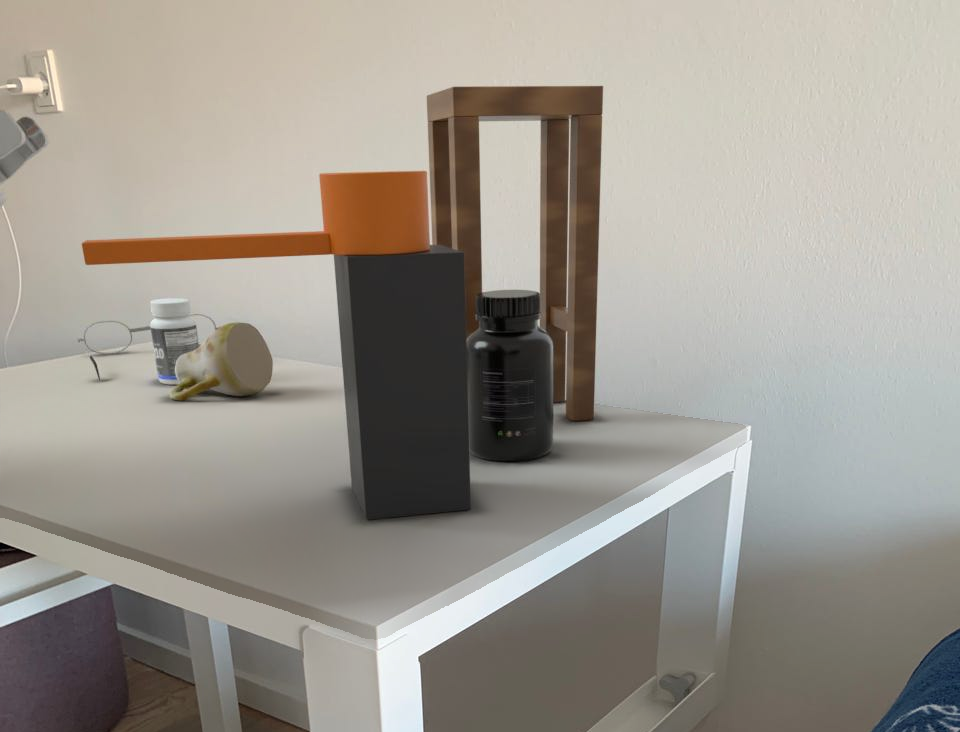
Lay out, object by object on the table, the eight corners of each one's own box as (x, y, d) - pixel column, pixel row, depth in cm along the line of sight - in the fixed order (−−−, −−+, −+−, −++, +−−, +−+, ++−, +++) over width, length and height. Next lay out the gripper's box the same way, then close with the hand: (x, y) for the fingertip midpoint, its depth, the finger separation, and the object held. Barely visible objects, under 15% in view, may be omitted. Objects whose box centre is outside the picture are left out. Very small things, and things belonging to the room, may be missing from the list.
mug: (197, 385, 108) (234, 301, 104) (258, 435, 105) (298, 350, 101) (145, 380, 101) (181, 289, 97) (208, 433, 98) (248, 342, 94)
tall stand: (462, 430, 86) (452, 86, 75) (438, 406, 95) (426, 95, 84) (594, 419, 89) (603, 85, 78) (558, 397, 98) (562, 94, 86)
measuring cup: (81, 268, 55) (65, 180, 53) (92, 259, 61) (78, 179, 59) (439, 252, 59) (436, 170, 57) (419, 245, 65) (416, 170, 63)
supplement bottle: (469, 441, 83) (465, 288, 78) (551, 439, 83) (553, 286, 77) (465, 463, 77) (460, 299, 72) (554, 462, 76) (556, 297, 71)
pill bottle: (156, 379, 110) (143, 299, 107) (199, 375, 112) (188, 296, 108) (161, 386, 106) (149, 304, 103) (206, 382, 108) (195, 301, 104)
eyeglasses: (223, 343, 132) (219, 311, 130) (259, 369, 117) (255, 334, 115) (79, 355, 125) (73, 322, 124) (97, 386, 110) (91, 348, 108)
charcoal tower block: (366, 520, 65) (347, 256, 58) (351, 489, 71) (333, 248, 64) (471, 509, 66) (464, 252, 60) (448, 481, 73) (439, 244, 66)
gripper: (-308, 228, 45) (-57, 48, 44) (-165, 209, 62) (15, 81, 62) (-191, 349, 48) (45, 182, 47) (-87, 298, 66) (86, 177, 65)
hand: (28, 125), depth 55 cm, fingers open, 8 cm apart
